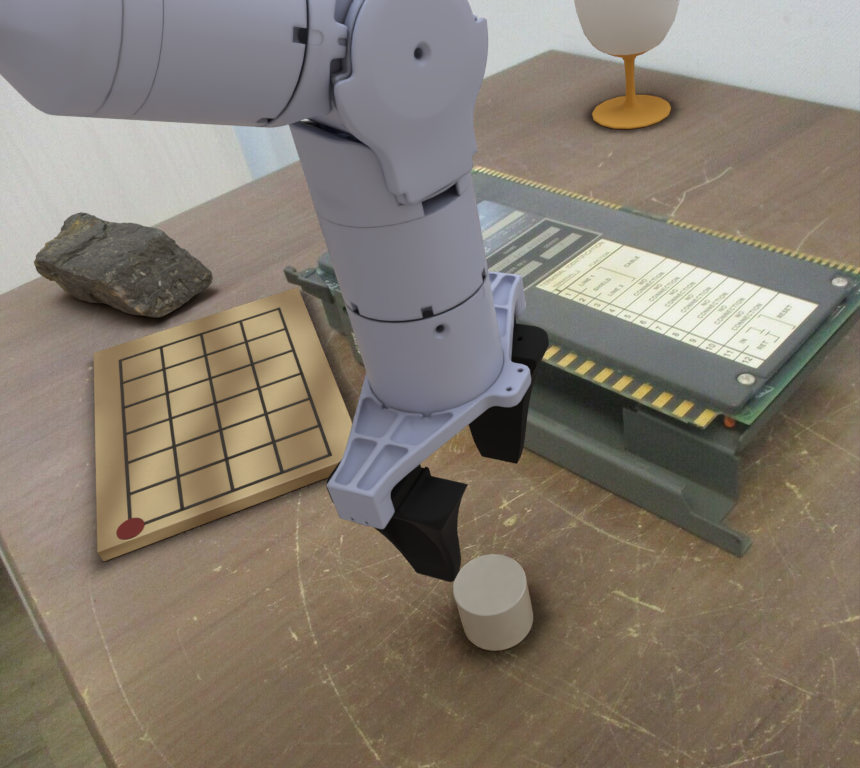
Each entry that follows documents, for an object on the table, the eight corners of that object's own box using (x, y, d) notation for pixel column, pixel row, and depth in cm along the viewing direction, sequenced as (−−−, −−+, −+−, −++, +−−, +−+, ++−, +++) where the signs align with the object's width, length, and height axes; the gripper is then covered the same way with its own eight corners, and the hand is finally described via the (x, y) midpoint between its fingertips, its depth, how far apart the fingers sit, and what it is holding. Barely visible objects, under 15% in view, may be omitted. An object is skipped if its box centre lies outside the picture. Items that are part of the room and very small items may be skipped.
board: (103, 562, 54) (96, 551, 54) (98, 361, 72) (92, 352, 71) (367, 462, 58) (364, 451, 57) (301, 295, 76) (297, 285, 75)
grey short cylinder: (477, 662, 45) (467, 627, 43) (453, 606, 48) (442, 570, 46) (545, 633, 46) (538, 596, 44) (517, 579, 49) (509, 543, 47)
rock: (-4, 289, 74) (47, 208, 80) (46, 335, 80) (91, 257, 85) (159, 286, 70) (202, 200, 75) (201, 335, 75) (238, 252, 81)
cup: (576, 137, 93) (562, -26, 82) (584, 95, 102) (572, -57, 91) (683, 131, 91) (684, -38, 80) (682, 88, 100) (682, -69, 89)
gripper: (420, 422, 26) (485, 659, 35) (574, 195, 36) (595, 425, 44) (239, 386, 29) (343, 615, 37) (429, 184, 38) (476, 403, 47)
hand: (471, 510), depth 41 cm, fingers open, 7 cm apart
